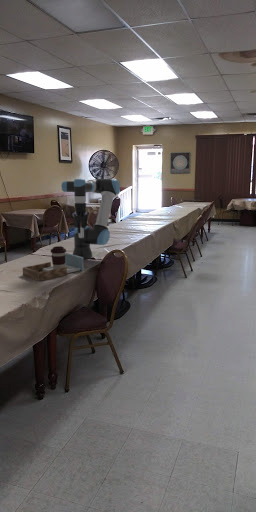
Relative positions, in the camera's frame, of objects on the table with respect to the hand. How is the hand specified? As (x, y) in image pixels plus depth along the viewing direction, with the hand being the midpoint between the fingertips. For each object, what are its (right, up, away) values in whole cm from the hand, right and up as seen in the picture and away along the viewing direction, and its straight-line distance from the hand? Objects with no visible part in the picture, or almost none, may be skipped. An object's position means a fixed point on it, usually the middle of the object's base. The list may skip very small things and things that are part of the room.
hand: (81, 237), depth 266 cm
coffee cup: (-13, -22, -9) cm, 27 cm away
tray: (-12, -23, -7) cm, 26 cm away
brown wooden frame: (-22, -25, -16) cm, 37 cm away
